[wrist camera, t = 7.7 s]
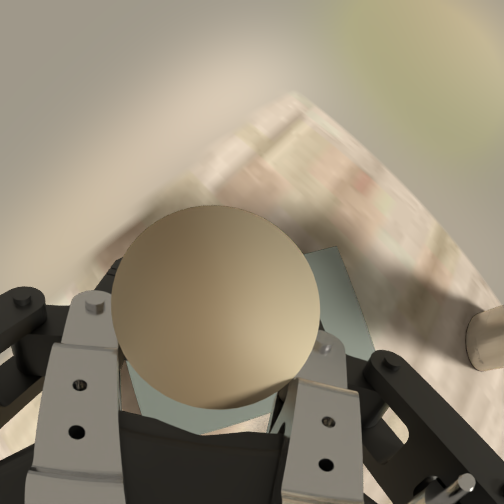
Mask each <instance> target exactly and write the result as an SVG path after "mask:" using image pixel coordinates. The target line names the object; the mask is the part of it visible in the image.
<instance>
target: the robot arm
mask: <svg viewBox="0 0 504 504" xmlns="http://www.w3.org/2000/svg"><path fill="white" fill-rule="evenodd" d="M122 258H123V257H122ZM122 258H120V259H118V260H116V261H115V262H114V264H113V265H112V266H111V269H109V270H108V272H107V273H106V275H105V276H104V277H103V279H102V280H101V281H100V283H99V284H98V285H97V287H96V288H95V290H91V291H85V292H82V293H79V294H78V295H76V296H75V297H74V298H73V299H72V301H71V305H69V306H57V305H46V304H45V297H44V295H43V293H42V292H41V291H40V290H38V289H36V288H32V287H17V288H14V289H11V290H9V291H7V292H5V293H4V294H2V295H0V353H2V352H3V351H5V350H6V349H7V348H9V347H10V346H11V348H12V352H13V355H14V356H12V357H11V358H10V359H8V360H7V361H6V362H4V363H3V364H2V365H0V429H1V428H2V427H3V426H4V425H5V424H6V423H7V422H8V421H9V420H10V419H11V418H13V417H14V416H15V415H16V414H17V413H18V412H19V411H20V410H21V409H22V408H24V407H25V406H26V405H27V404H28V403H29V402H30V401H31V400H32V399H34V398H35V397H36V396H37V395H38V394H39V393H40V392H41V391H43V392H42V397H41V403H40V409H39V416H38V423H37V430H36V439H35V443H34V444H32V445H30V446H28V447H26V448H24V449H22V450H20V451H18V452H16V453H14V454H12V455H10V456H8V457H6V458H4V459H2V460H0V504H377V503H376V502H375V501H374V500H372V499H371V498H370V497H368V496H367V495H366V494H365V493H363V464H364V465H365V466H366V468H367V469H368V470H369V472H370V473H371V474H372V476H373V477H374V479H375V480H376V481H377V483H378V484H379V485H380V487H381V488H382V489H383V491H384V492H385V493H386V495H387V496H388V497H389V499H390V500H391V501H392V503H393V504H504V461H503V460H502V459H501V458H500V457H499V456H498V455H497V454H496V453H495V451H494V450H493V449H492V448H491V447H490V446H489V445H488V444H487V443H486V442H485V441H484V440H483V439H482V438H481V437H480V436H479V435H478V434H477V433H476V431H475V430H474V429H473V428H472V427H471V426H470V425H469V424H468V423H467V422H466V421H465V420H464V419H463V418H462V417H461V416H460V415H459V414H458V413H457V412H456V411H455V410H454V409H453V408H452V407H451V406H450V405H449V404H448V403H447V402H446V401H445V400H444V399H443V398H442V397H441V396H440V395H439V394H438V393H437V392H436V391H435V390H434V389H433V388H432V387H431V386H430V385H429V384H428V383H427V382H426V381H425V380H424V379H423V378H422V377H421V376H420V375H419V374H418V373H417V372H416V371H415V370H414V369H413V368H412V367H411V366H410V365H409V364H408V363H407V362H406V361H405V360H404V359H403V358H402V357H400V356H399V355H397V354H395V353H393V352H390V351H386V350H377V351H375V352H373V353H372V354H371V356H370V358H369V360H368V361H366V360H363V359H359V358H356V357H353V356H350V355H347V354H345V347H344V345H343V343H342V342H341V341H340V340H339V339H338V338H337V337H336V336H334V335H332V334H330V333H328V332H325V329H324V327H323V325H322V322H321V320H320V321H319V328H318V333H317V337H316V340H315V343H314V346H313V349H312V351H311V353H310V355H309V357H308V359H307V361H306V362H305V364H304V365H303V367H302V368H301V369H300V371H299V372H298V373H297V374H296V375H295V377H294V378H293V379H292V380H291V381H290V382H289V383H288V384H286V385H285V386H284V387H283V388H281V389H280V390H279V391H278V392H277V394H276V396H275V398H274V401H273V406H272V410H271V415H270V419H269V423H268V427H267V432H266V433H259V432H239V433H229V434H219V435H206V436H202V435H197V434H194V433H191V432H188V431H186V430H183V429H180V428H178V427H175V426H173V425H170V424H168V423H165V422H163V421H160V420H158V419H156V418H151V417H146V416H142V415H137V414H133V413H129V412H125V411H122V407H121V378H120V369H121V367H122V365H123V362H124V360H125V361H128V360H127V358H126V357H125V355H124V354H123V351H122V349H121V347H120V345H119V343H118V341H117V337H116V334H115V331H114V327H113V321H112V315H111V295H112V287H113V283H114V279H115V275H116V272H117V269H118V267H119V265H120V262H121V260H122ZM466 346H467V352H468V356H469V359H470V361H471V363H472V365H473V366H474V367H475V368H476V369H477V370H479V371H488V370H494V369H500V368H504V305H501V306H498V307H495V308H493V309H490V310H487V311H484V312H481V313H478V314H476V315H475V316H474V317H473V318H472V319H471V321H470V323H469V326H468V329H467V335H466ZM389 407H390V408H391V409H392V410H393V411H394V412H395V414H396V415H397V416H398V417H399V418H400V419H401V420H402V422H403V423H404V424H405V425H406V426H407V428H408V431H409V438H408V440H407V442H406V443H405V444H403V443H402V441H401V440H400V439H399V438H398V437H397V435H396V434H395V433H394V432H393V431H392V429H391V428H390V427H389V426H388V425H387V423H386V422H385V421H384V420H383V419H382V416H383V415H384V413H385V412H386V411H387V409H388V408H389Z"/></svg>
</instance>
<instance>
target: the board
mask: <svg viewBox="0 0 504 504" xmlns="http://www.w3.org/2000/svg"><path fill="white" fill-rule="evenodd" d="M303 255H304V257H305V258H306V260H307V262H308V263H309V266H310V268H311V270H312V272H313V274H314V278H315V281H316V284H317V288H318V293H319V299H320V320H321V322H322V325H323V327H324V329H325V332H328V333H330V334H332V335H334V336H336V337H337V338H338V339H339V340H340V341H341V342H342V343H343V345H344V347H345V354H347V355H350V356H353V357H356V358H359V359H363V360H366V361H368V360H369V358H370V356H371V354H372V353H373V352H375V349H374V346H373V343H372V340H371V337H370V334H369V331H368V328H367V325H366V322H365V319H364V317H363V314H362V311H361V308H360V305H359V303H358V300H357V297H356V295H355V292H354V289H353V287H352V284H351V281H350V279H349V276H348V273H347V271H346V268H345V266H344V263H343V261H342V258H341V256H340V253H339V251H338V248H337V246H335V247H331V248H327V249H323V250H319V251H315V252H311V253H307V254H303ZM126 363H127V367H128V371H129V374H130V378H131V381H132V385H133V388H134V391H135V395H136V398H137V401H138V404H139V408H140V411H141V414H142V416H146V417H151V418H156V419H158V420H160V421H163V422H165V423H168V424H170V425H173V426H175V427H178V428H180V429H183V430H186V431H188V432H191V433H194V434H197V435H200V434H204V433H208V432H211V431H215V430H218V429H222V428H225V427H228V426H232V425H235V424H238V423H241V422H244V421H248V420H251V419H254V418H257V417H260V416H262V415H265V414H268V413H271V410H272V406H273V401H274V398H275V396H276V394H277V392H276V393H274V394H273V395H271V396H269V397H268V398H266V399H264V400H261V401H259V402H257V403H254V404H252V405H248V406H244V407H240V408H234V409H225V410H214V409H203V408H197V407H192V406H189V405H186V404H183V403H180V402H177V401H175V400H173V399H171V398H169V397H167V396H165V395H163V394H162V393H160V392H159V391H157V390H156V389H154V388H153V387H151V386H150V385H149V384H148V383H147V382H146V381H145V380H144V379H142V378H141V377H140V375H139V374H138V373H137V372H136V371H135V370H134V368H133V367H132V366H131V365H130V363H129V361H126Z"/></svg>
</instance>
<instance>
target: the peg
mask: <svg viewBox="0 0 504 504" xmlns="http://www.w3.org/2000/svg"><path fill="white" fill-rule="evenodd" d="M111 315H112V321H113V327H114V331H115V334H116V337H117V341H118V343H119V345H120V347H121V349H122V351H123V354H124V355H125V357H126V358H127V360H128V361H129V363H130V365H131V366H132V367H133V368H134V370H135V371H136V372H137V373H138V374H139V375H140V377H141V378H142V379H144V380H145V381H146V382H147V383H148V384H149V385H150V386H151V387H153V388H154V389H156V390H157V391H159V392H160V393H162V394H163V395H165V396H167V397H169V398H171V399H173V400H175V401H177V402H180V403H183V404H186V405H189V406H192V407H197V408H203V409H214V410H225V409H234V408H240V407H244V406H248V405H252V404H254V403H257V402H259V401H261V400H264V399H266V398H268V397H269V396H271V395H273V394H274V393H276V392H278V391H279V390H280V389H281V388H283V387H284V386H285V385H286V384H288V383H289V382H290V381H291V380H292V379H293V378H294V377H295V375H296V374H297V373H298V372H299V371H300V369H301V368H302V367H303V365H304V364H305V362H306V361H307V359H308V357H309V355H310V353H311V351H312V349H313V346H314V343H315V340H316V337H317V333H318V328H319V321H320V299H319V293H318V288H317V284H316V281H315V278H314V274H313V272H312V270H311V268H310V266H309V263H308V262H307V260H306V258H305V257H304V255H303V253H302V252H301V251H300V249H299V248H298V247H297V245H296V244H295V243H294V242H293V241H292V240H291V239H290V238H289V237H288V236H287V235H286V234H285V233H284V232H283V231H282V230H280V229H279V228H278V227H277V226H275V225H274V224H272V223H270V222H269V221H267V220H266V219H264V218H262V217H260V216H258V215H255V214H253V213H251V212H248V211H245V210H242V209H237V208H233V207H227V206H198V207H191V208H188V209H184V210H180V211H177V212H175V213H172V214H170V215H167V216H166V217H164V218H162V219H160V220H158V221H157V222H155V223H154V224H152V225H151V226H150V227H148V228H147V229H146V230H145V231H144V232H143V233H141V234H140V235H139V236H138V237H137V238H136V240H135V241H134V242H133V243H132V245H131V246H130V247H129V248H128V250H127V252H126V253H125V255H124V257H123V258H122V260H121V262H120V265H119V267H118V269H117V272H116V275H115V279H114V283H113V287H112V295H111Z"/></svg>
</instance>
